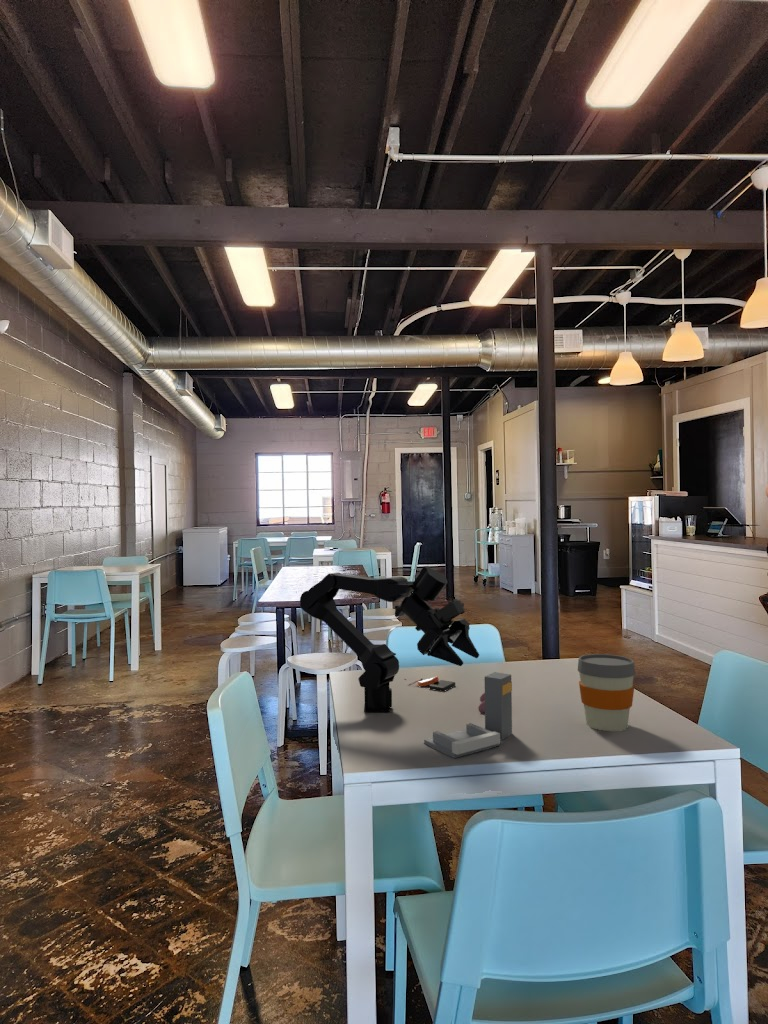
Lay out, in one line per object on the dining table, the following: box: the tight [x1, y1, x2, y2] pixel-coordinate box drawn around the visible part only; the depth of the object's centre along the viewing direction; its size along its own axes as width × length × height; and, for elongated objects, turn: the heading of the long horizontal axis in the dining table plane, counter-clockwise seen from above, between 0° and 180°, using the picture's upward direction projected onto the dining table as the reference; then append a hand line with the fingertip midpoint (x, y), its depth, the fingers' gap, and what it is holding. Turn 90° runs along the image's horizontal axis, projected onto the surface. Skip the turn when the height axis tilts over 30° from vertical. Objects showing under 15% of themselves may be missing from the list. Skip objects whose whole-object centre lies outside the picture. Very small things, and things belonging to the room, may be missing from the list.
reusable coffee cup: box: [577, 653, 636, 732], centre depth 143 cm, size 13×13×15 cm
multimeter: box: [409, 676, 456, 692], centre depth 179 cm, size 18×12×3 cm, turn 52°
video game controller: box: [477, 692, 485, 714], centre depth 157 cm, size 10×5×7 cm, turn 169°
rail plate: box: [423, 722, 501, 759], centre depth 131 cm, size 11×12×3 cm
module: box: [484, 671, 513, 741], centre depth 137 cm, size 4×5×13 cm
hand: (470, 660), depth 144 cm, fingers open, 9 cm apart
